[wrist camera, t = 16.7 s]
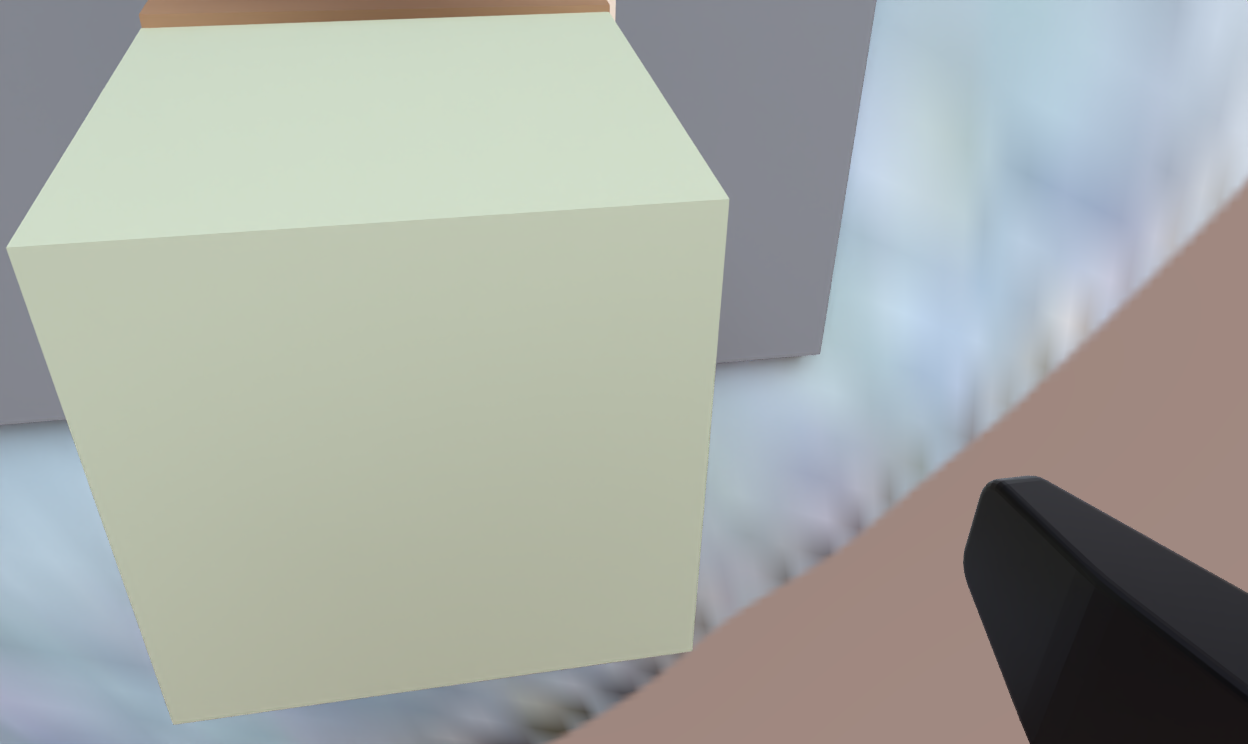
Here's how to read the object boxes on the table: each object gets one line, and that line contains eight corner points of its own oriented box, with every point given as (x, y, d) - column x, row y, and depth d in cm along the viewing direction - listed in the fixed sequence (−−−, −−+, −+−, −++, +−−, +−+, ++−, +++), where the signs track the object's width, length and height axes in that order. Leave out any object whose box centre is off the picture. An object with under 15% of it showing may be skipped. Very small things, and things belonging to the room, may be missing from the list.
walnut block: (259, 231, 18) (225, 403, 14) (202, -85, 15) (139, 14, 11) (552, 215, 19) (601, 371, 15) (549, -86, 16) (609, 4, 12)
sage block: (232, 411, 14) (172, 724, 10) (141, 27, 11) (5, 247, 7) (604, 375, 15) (691, 651, 11) (608, 11, 12) (729, 197, 8)
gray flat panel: (-249, 420, 19) (-274, 452, 18) (-834, -645, 11) (-920, -666, 10) (807, 334, 22) (821, 356, 22) (935, -524, 15) (965, -533, 14)
